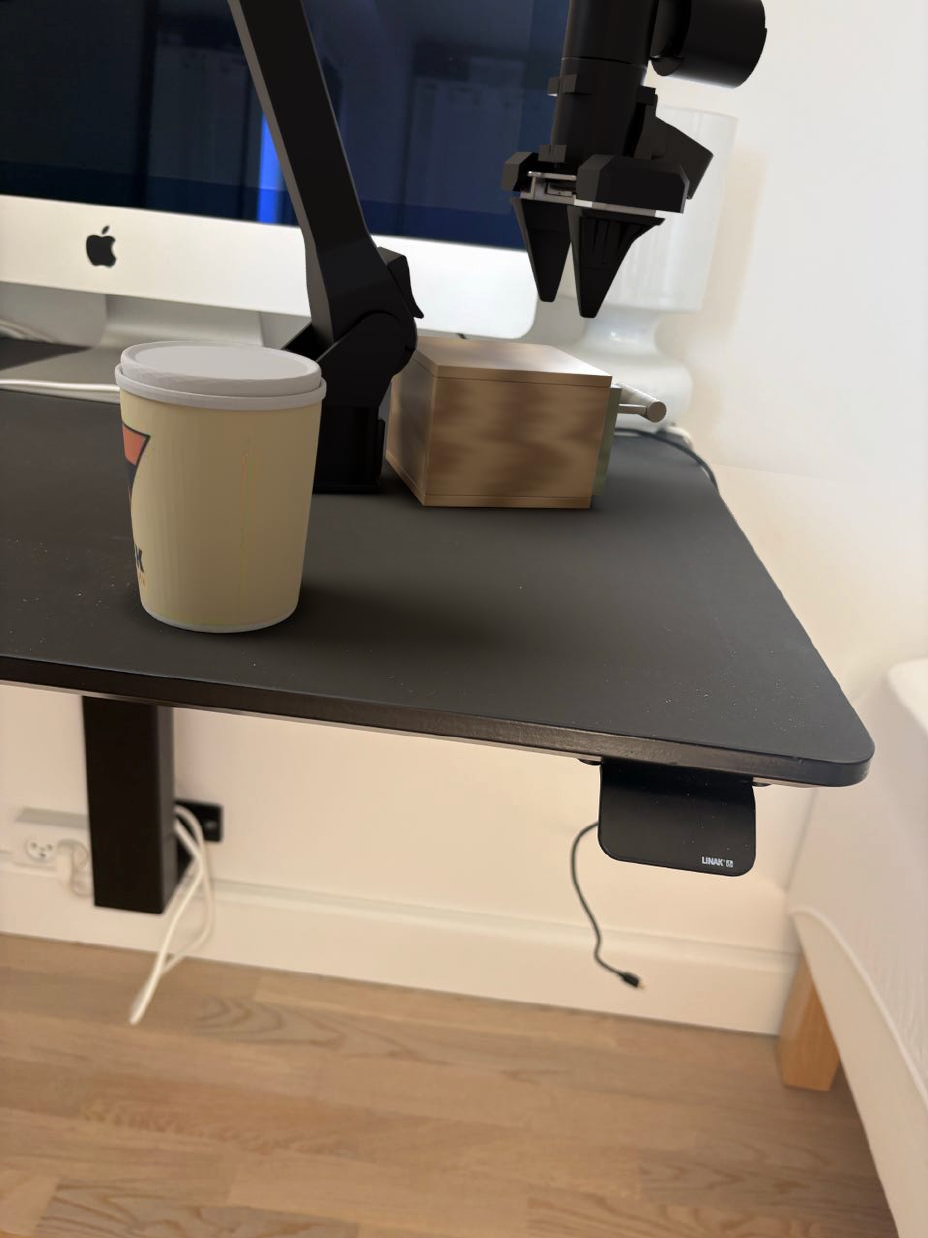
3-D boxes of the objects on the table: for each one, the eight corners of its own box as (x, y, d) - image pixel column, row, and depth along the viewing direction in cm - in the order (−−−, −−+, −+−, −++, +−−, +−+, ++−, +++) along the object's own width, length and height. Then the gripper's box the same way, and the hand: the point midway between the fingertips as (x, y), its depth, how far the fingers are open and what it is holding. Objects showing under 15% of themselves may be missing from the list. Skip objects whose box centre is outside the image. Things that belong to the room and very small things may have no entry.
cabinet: (533, 463, 80) (550, 345, 76) (589, 508, 70) (613, 375, 66) (385, 458, 76) (395, 333, 72) (423, 506, 66) (437, 364, 62)
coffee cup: (157, 556, 53) (154, 331, 48) (327, 576, 53) (341, 354, 48) (92, 628, 44) (79, 363, 39) (295, 651, 45) (307, 390, 40)
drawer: (605, 456, 81) (622, 362, 78) (663, 495, 72) (685, 391, 69) (416, 450, 76) (426, 349, 73) (454, 491, 67) (467, 378, 64)
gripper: (788, 77, 59) (729, 340, 65) (647, 90, 75) (611, 300, 81) (624, 46, 55) (578, 327, 61) (513, 67, 71) (486, 288, 77)
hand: (566, 309), depth 70 cm, fingers open, 7 cm apart
